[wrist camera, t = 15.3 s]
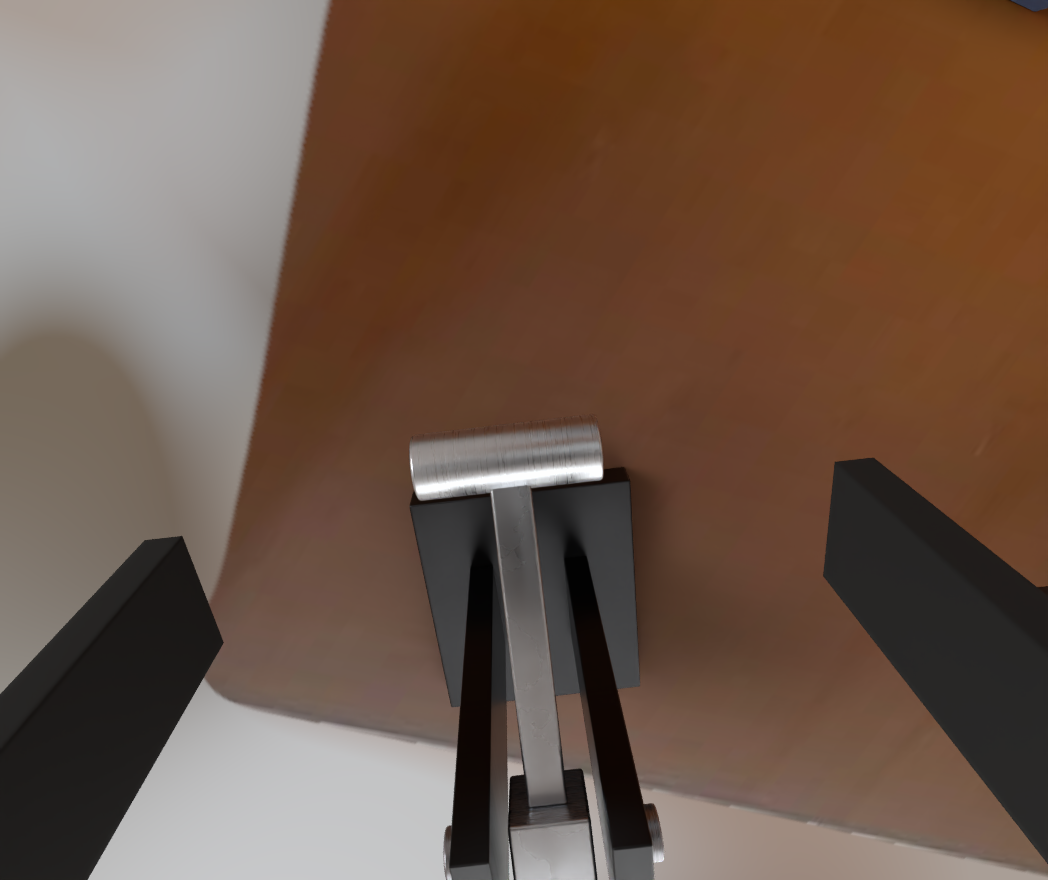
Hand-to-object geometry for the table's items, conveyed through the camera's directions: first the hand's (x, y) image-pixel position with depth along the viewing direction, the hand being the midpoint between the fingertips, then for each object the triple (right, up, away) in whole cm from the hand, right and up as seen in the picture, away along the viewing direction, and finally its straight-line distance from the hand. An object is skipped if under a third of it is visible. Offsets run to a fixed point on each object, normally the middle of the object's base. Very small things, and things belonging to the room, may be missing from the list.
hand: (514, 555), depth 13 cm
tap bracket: (+1, -4, +16) cm, 16 cm away
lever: (0, -4, +6) cm, 7 cm away
